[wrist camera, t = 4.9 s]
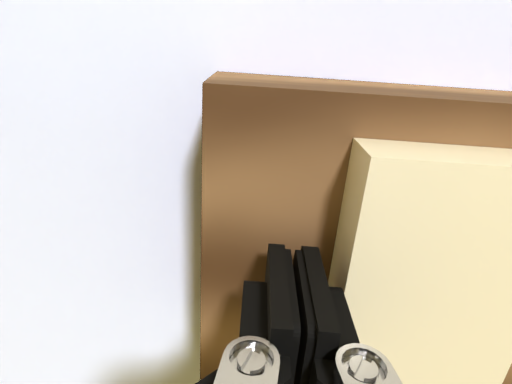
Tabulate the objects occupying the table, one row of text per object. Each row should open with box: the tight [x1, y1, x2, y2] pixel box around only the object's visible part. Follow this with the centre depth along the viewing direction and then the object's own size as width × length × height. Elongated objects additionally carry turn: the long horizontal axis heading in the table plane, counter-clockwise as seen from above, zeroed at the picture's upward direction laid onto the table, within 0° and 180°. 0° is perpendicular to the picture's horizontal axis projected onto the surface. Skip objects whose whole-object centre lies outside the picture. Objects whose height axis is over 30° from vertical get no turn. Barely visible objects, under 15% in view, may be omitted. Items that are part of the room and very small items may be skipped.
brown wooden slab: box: [200, 71, 512, 384], centre depth 15 cm, size 12×16×4 cm
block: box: [328, 138, 512, 384], centre depth 12 cm, size 9×6×2 cm, turn 176°
